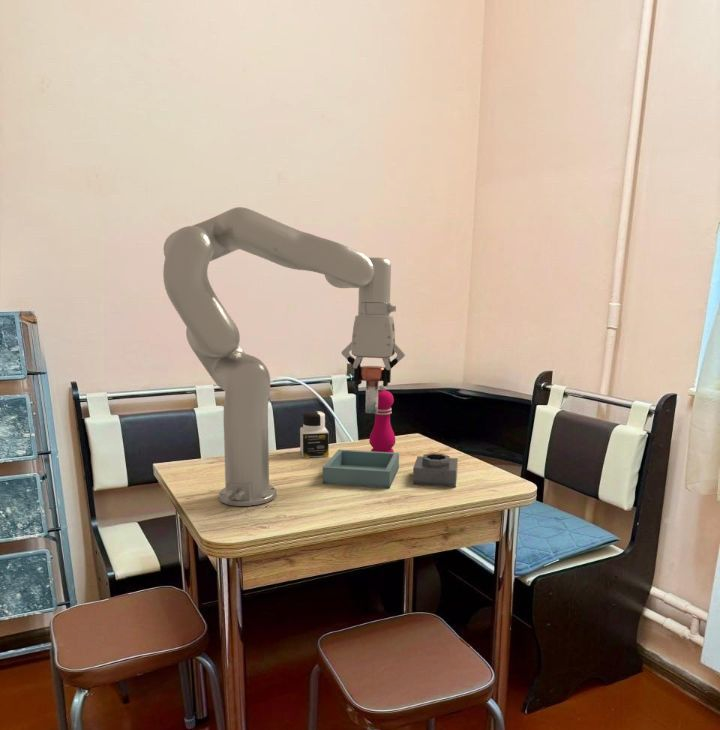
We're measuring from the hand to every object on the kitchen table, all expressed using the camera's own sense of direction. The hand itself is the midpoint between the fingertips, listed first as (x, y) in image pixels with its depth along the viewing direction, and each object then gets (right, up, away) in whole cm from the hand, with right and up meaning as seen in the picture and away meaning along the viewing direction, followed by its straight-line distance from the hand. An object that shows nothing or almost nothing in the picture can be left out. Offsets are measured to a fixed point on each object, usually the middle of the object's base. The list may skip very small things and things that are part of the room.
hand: (372, 384), depth 141 cm
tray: (-2, -23, +3) cm, 23 cm away
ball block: (+16, -23, +1) cm, 28 cm away
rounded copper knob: (0, -7, +1) cm, 7 cm away
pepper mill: (+3, -21, +21) cm, 29 cm away
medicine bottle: (-16, -21, +22) cm, 34 cm away
